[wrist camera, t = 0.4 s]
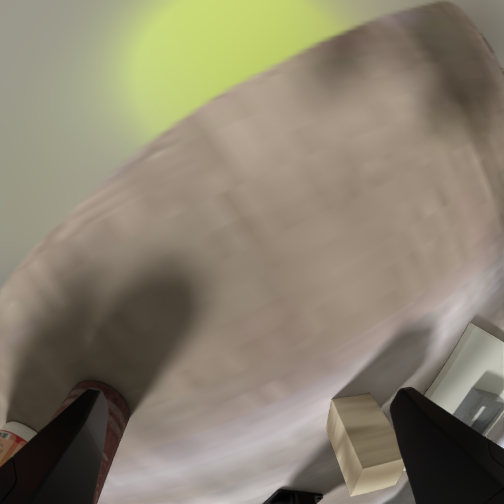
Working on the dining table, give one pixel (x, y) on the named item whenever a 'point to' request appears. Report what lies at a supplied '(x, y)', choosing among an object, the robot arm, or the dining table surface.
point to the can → (115, 424)
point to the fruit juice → (13, 439)
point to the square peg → (363, 444)
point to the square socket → (473, 405)
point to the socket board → (470, 371)
